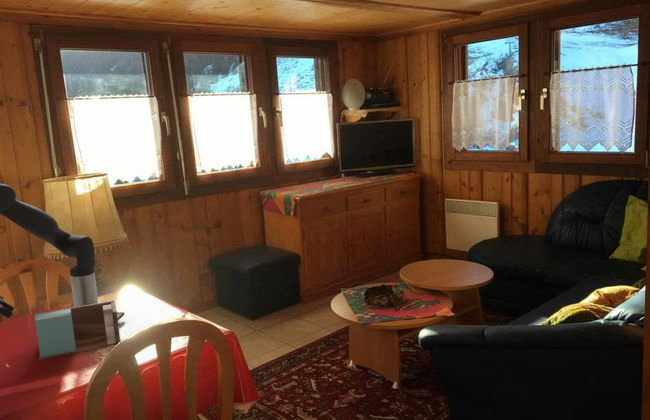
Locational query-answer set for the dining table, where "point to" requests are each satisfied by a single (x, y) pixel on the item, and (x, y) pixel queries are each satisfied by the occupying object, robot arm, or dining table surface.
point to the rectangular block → (55, 333)
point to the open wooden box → (93, 326)
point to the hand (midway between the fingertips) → (11, 313)
